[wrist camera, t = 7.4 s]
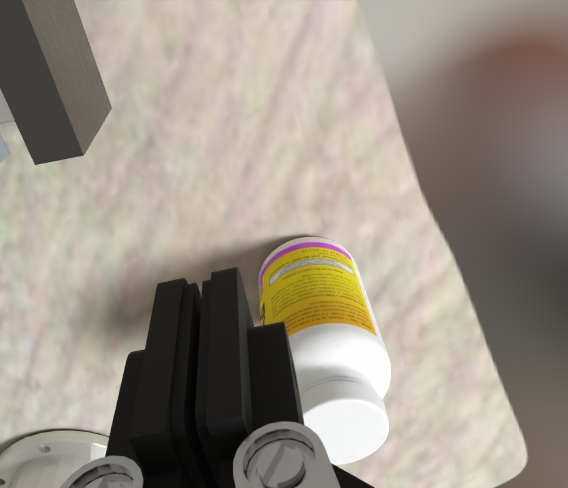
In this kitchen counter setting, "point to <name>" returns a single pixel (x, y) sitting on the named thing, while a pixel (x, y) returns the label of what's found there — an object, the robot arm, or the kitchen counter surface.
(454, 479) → the kitchen counter surface
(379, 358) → the supplement bottle
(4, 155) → the housing
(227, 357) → the robot arm
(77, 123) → the shaft
